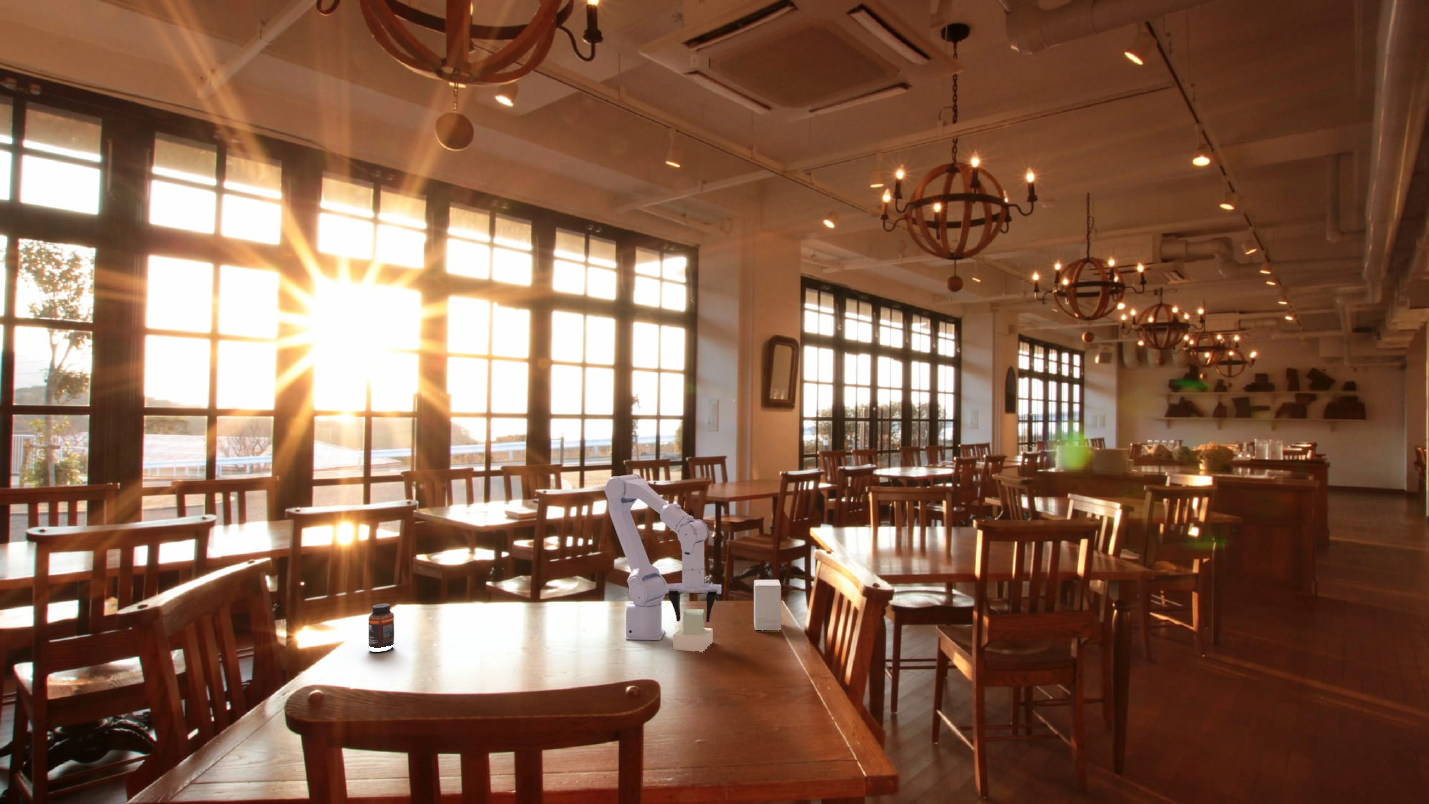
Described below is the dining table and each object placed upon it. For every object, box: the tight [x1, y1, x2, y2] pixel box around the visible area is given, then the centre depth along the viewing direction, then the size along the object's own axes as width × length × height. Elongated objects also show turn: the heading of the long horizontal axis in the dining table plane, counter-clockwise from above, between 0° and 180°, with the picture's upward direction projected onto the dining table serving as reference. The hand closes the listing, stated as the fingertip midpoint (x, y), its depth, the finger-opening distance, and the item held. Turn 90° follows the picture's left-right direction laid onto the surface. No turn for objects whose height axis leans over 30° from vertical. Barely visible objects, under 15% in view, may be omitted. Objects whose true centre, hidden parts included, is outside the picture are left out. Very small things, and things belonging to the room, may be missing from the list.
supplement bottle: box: [368, 603, 395, 648], centre depth 182 cm, size 6×6×11 cm
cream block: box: [672, 626, 714, 653], centre depth 185 cm, size 8×8×4 cm
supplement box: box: [753, 579, 782, 632], centre depth 200 cm, size 7×7×13 cm
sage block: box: [682, 608, 705, 635], centre depth 185 cm, size 5×5×5 cm
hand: (693, 620), depth 185 cm, fingers open, 7 cm apart
